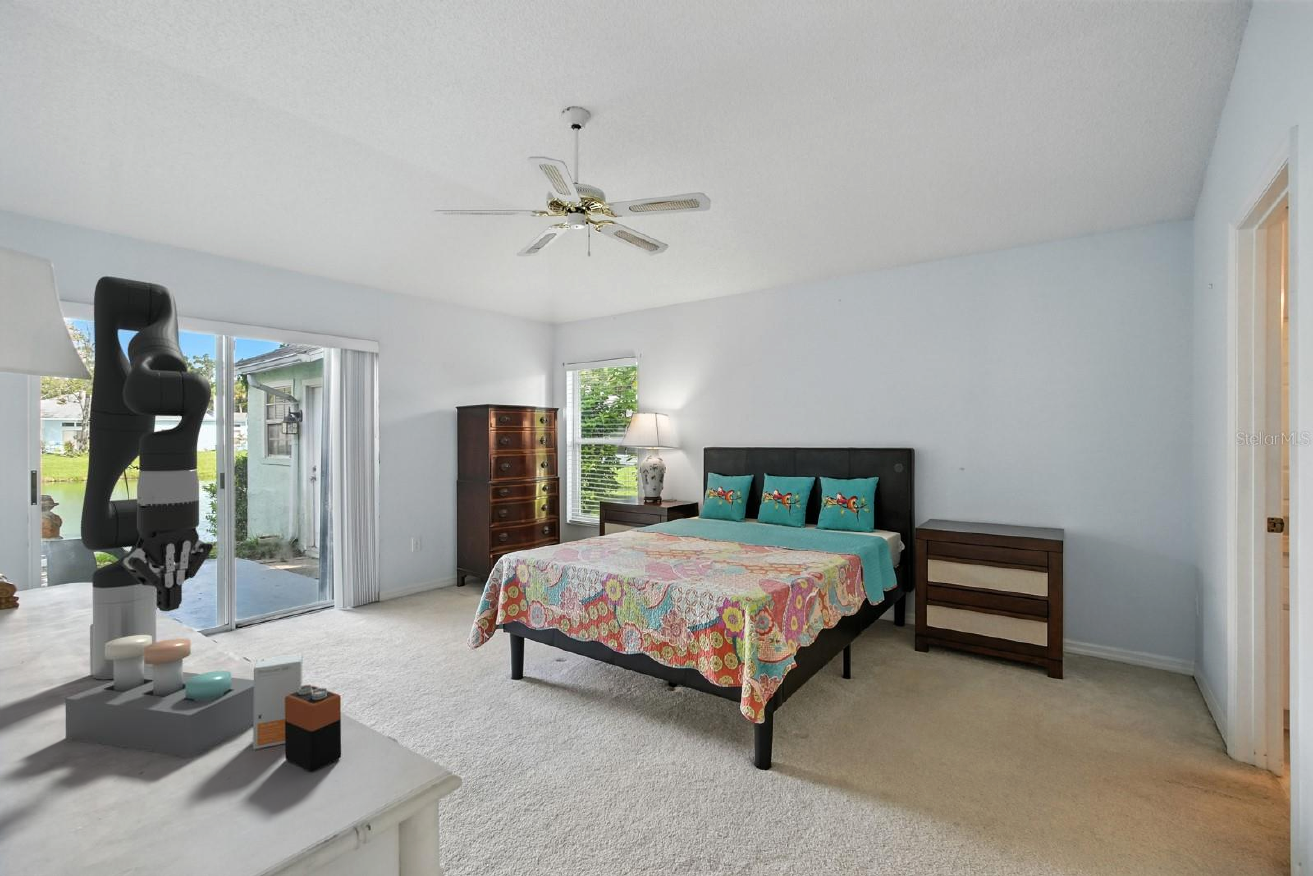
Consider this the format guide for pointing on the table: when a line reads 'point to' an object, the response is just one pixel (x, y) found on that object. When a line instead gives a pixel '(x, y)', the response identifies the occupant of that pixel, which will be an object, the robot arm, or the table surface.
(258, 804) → the table surface
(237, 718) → the mount
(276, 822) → the table surface
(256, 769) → the table surface
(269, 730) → the skincare box
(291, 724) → the battery
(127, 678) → the knob
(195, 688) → the knob
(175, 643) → the knob mid
